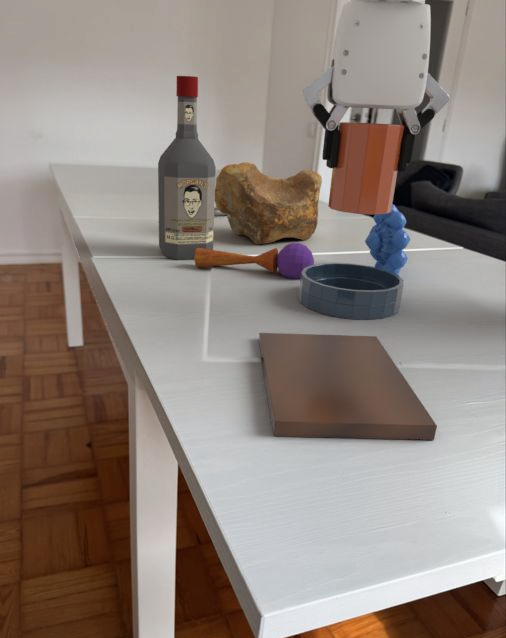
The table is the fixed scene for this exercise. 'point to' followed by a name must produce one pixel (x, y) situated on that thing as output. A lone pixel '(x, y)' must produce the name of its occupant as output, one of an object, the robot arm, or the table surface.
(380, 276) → the bowl
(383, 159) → the cup
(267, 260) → the kendama
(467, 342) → the table surface
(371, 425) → the board
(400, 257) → the grapes
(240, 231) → the rough brown rock
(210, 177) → the liquor
